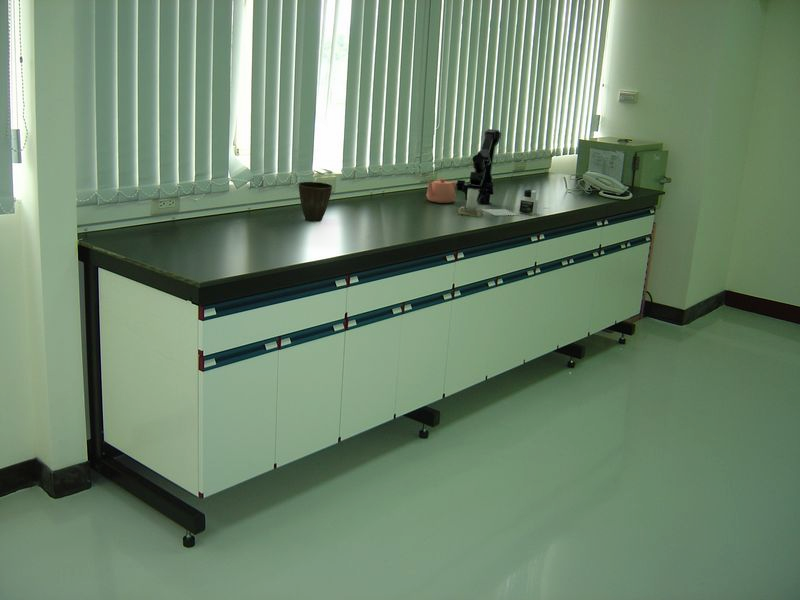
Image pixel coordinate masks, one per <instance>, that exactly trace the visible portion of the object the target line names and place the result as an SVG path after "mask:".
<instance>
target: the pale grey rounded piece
mask: <svg viewBox="0 0 800 600" xmlns="http://www.w3.org/2000/svg"><path fill="white" fill-rule="evenodd" d="M479 193H480V192H479V190H478V189H471V188H468V193H467V201H466V206H465V210H473V211H478V210H477V209H478V202H477V198H478V195H479Z"/></svg>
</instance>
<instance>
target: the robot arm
mask: <svg viewBox="0 0 800 600" xmlns="http://www.w3.org/2000/svg"><path fill="white" fill-rule="evenodd" d="M501 137H502V132H500V130H499V129H492V128H491V129H490V128H487V130H484V133H483V138H484V139H483V143H482V146H481V149H480V150H479V151H477V154H475V155H473V157H472V159H471V160H472V167H473V171H471V172H470V174H469V183H468V182H466V180H464V179H458V180H457V181H456V190H457V191H459V192H462V193H464V198H465V201H466V202H467V193H468V189H478V190H479V192H478V198H477V204H480V205H493V202H490V201H491V195H494V193H495V184H494V179H493V176H492V169H493V165H494V164H493V163H494V157H495V150H496V147H497V145H498V144H499V143H500V140H501V139H502V138H501Z"/></svg>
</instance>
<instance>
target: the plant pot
mask: <svg viewBox="0 0 800 600" xmlns="http://www.w3.org/2000/svg"><path fill="white" fill-rule="evenodd" d="M332 190H333V185H332V184H330V183H324V182H318V181H303V182H302V181H301V182H299V183H298V192H299V193H298V194H299V200H300V205H301V209H302V213H303V216H304V219H306V220H305V221H307V220H308V222H313V221H319V222H322V221H321V220H323V219H324V216H325V213H326V211H327V208H328V205H329V202H330V199H331V194H332Z"/></svg>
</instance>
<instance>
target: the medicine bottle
mask: <svg viewBox="0 0 800 600" xmlns="http://www.w3.org/2000/svg"><path fill="white" fill-rule="evenodd" d="M519 204H520V205H519V211H518V212H519V214H522V213H523V214H524V215H528V214H530V215H529V216H534V215H536V214H538V213H537V212H538V206H539V205H538V204H539V200H538V199H537V191H536V190H534V189H525V190H524V193H523V198H521V199H520V203H519Z"/></svg>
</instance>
